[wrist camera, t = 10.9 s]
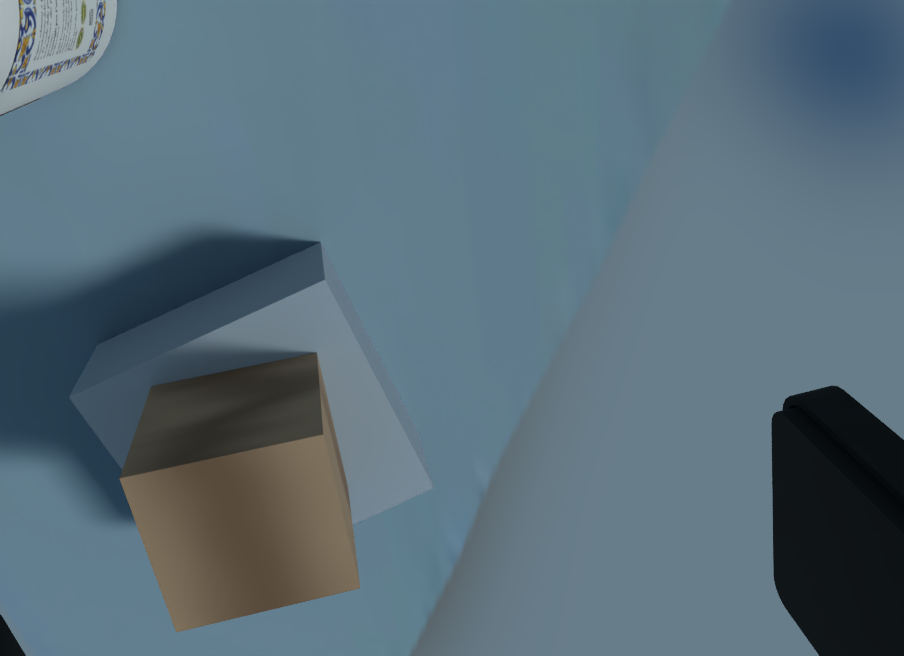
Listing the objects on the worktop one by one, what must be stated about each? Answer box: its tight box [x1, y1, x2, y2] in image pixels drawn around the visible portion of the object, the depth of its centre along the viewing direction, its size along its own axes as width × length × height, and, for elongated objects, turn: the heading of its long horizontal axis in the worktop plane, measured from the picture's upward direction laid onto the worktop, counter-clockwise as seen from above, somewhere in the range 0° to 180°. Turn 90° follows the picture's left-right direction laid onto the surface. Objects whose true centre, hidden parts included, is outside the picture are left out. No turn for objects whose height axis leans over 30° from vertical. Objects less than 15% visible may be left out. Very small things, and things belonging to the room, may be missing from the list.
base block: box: [69, 242, 434, 525], centre depth 33 cm, size 10×10×5 cm
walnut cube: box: [119, 353, 360, 632], centre depth 28 cm, size 6×6×6 cm
